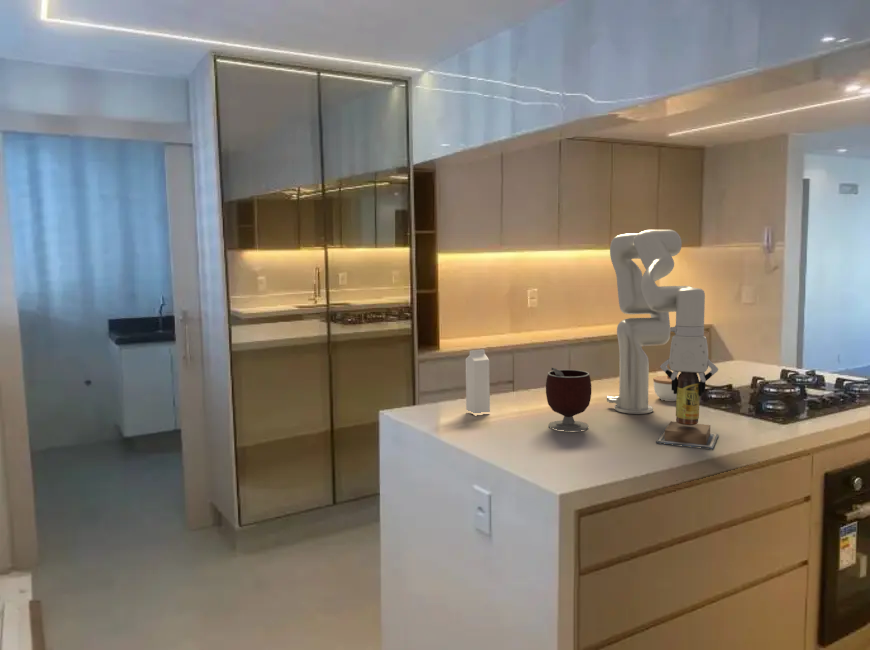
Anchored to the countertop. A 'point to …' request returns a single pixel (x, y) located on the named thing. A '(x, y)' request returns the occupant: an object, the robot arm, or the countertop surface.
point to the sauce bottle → (687, 399)
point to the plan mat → (688, 435)
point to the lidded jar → (664, 388)
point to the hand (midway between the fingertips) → (688, 393)
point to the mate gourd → (568, 397)
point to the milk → (477, 382)
